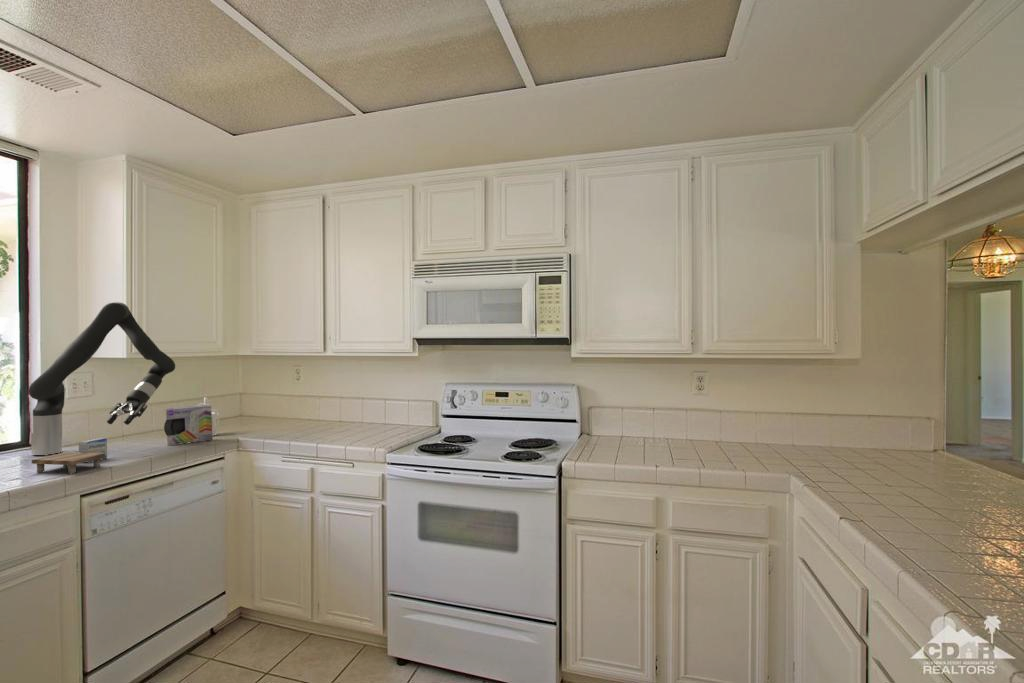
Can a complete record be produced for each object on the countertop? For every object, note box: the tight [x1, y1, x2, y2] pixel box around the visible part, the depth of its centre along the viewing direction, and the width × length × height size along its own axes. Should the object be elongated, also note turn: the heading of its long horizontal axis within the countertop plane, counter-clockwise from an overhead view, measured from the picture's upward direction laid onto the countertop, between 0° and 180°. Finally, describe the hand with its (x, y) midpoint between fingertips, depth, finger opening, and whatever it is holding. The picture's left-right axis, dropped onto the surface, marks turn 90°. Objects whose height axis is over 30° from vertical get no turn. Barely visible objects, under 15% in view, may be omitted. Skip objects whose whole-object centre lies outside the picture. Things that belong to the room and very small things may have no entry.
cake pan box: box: [163, 404, 214, 446], centre depth 228 cm, size 19×5×18 cm, turn 123°
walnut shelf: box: [31, 451, 105, 475], centre depth 180 cm, size 18×12×5 cm, turn 81°
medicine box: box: [78, 437, 108, 463], centre depth 194 cm, size 8×4×9 cm, turn 170°
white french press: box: [196, 396, 220, 437], centre depth 246 cm, size 10×9×20 cm
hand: (117, 423), depth 204 cm, fingers open, 8 cm apart
